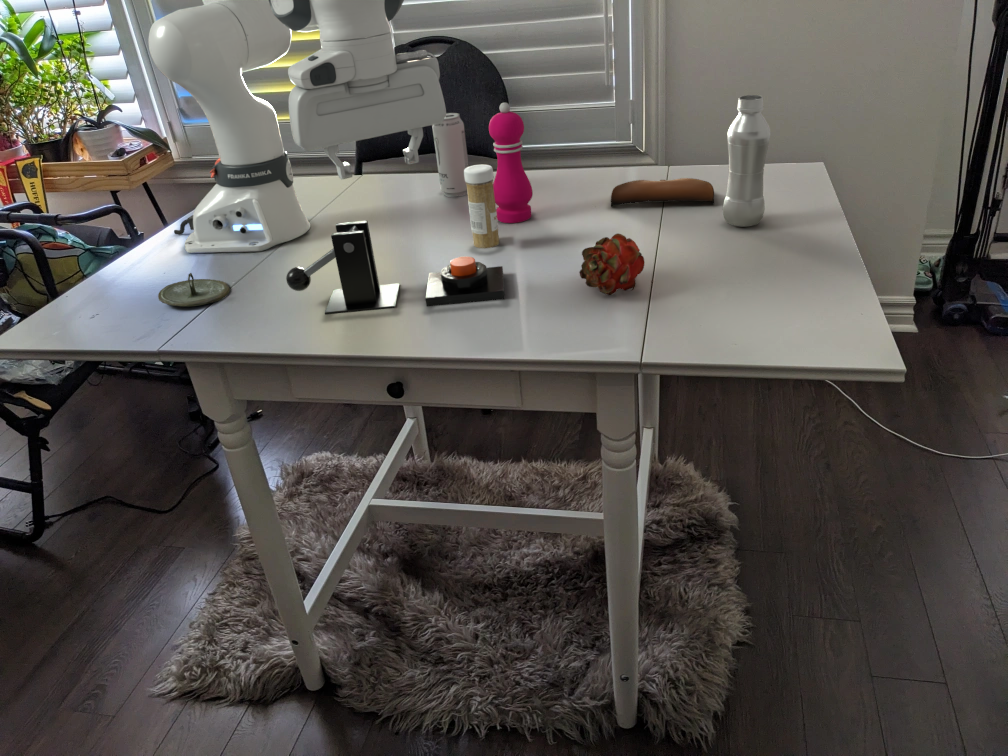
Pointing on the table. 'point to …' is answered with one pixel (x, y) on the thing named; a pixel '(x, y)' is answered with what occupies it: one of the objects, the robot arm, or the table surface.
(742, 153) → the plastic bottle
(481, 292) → the button block
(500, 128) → the pepper mill
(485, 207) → the spice jar
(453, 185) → the energy drink can
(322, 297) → the table surface
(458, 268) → the button
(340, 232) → the switch bracket
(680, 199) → the sunglasses case
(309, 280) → the lever
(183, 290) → the metal shank button
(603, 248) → the dragon fruit
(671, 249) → the table surface
